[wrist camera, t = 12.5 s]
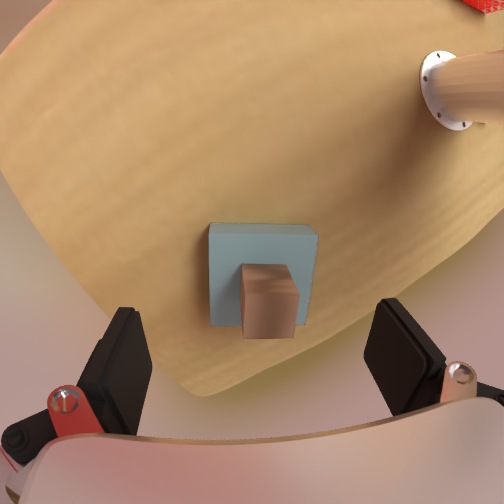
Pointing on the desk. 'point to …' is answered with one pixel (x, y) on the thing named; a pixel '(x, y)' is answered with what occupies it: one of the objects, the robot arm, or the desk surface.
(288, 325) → the walnut block
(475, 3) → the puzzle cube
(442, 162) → the desk surface
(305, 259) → the plinth
